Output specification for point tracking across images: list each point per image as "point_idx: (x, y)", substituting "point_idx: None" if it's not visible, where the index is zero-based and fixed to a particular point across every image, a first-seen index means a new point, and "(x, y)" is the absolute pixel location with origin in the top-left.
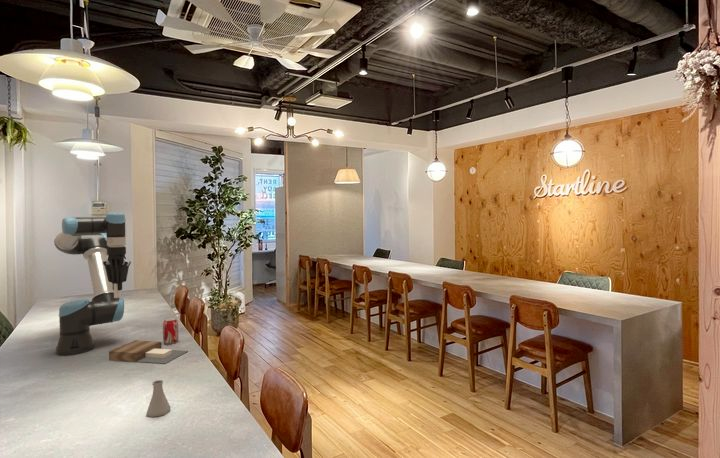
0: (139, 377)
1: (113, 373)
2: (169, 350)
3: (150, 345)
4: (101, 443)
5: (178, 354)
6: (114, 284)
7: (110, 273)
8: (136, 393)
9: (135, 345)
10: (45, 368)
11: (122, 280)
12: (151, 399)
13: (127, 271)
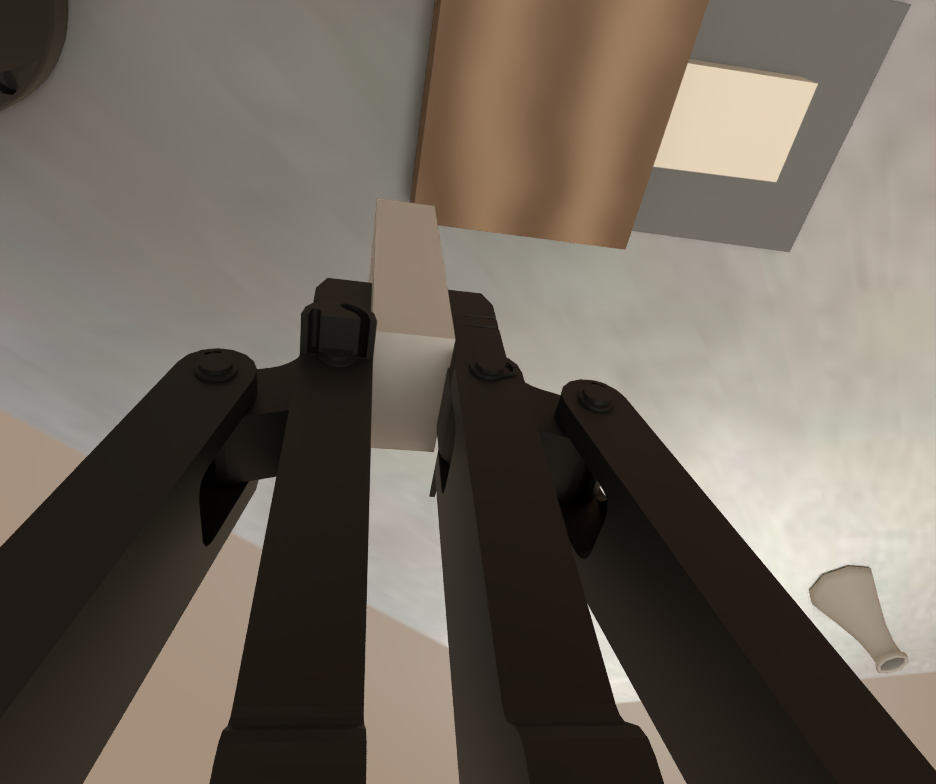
0: (704, 402)
1: (561, 372)
2: (803, 108)
3: (661, 78)
4: None
5: (848, 92)
6: (382, 439)
7: (158, 609)
8: (742, 511)
9: (537, 79)
10: (128, 336)
11: (597, 509)
12: (848, 632)
13: (791, 624)
